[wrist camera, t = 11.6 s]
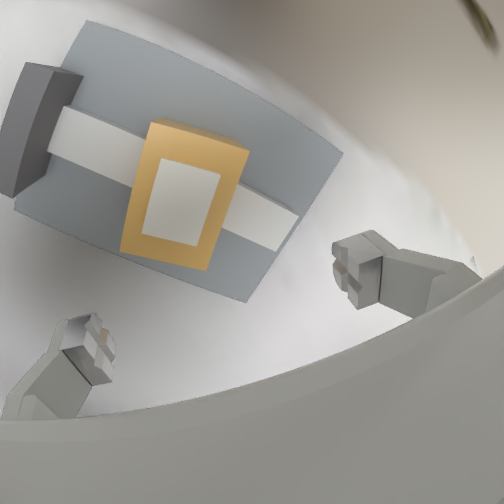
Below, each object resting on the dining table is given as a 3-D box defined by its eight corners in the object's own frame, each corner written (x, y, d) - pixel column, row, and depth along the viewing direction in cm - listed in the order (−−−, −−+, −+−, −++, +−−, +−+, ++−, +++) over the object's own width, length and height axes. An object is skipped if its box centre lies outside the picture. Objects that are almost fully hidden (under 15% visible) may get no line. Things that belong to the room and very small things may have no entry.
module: (200, 235, 21) (206, 273, 16) (131, 218, 19) (118, 254, 15) (235, 139, 18) (251, 152, 14) (159, 117, 16) (150, 122, 12)
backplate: (243, 294, 25) (259, 344, 20) (20, 203, 17) (-19, 239, 12) (336, 150, 21) (382, 170, 16) (91, 24, 13) (59, 0, 8)
